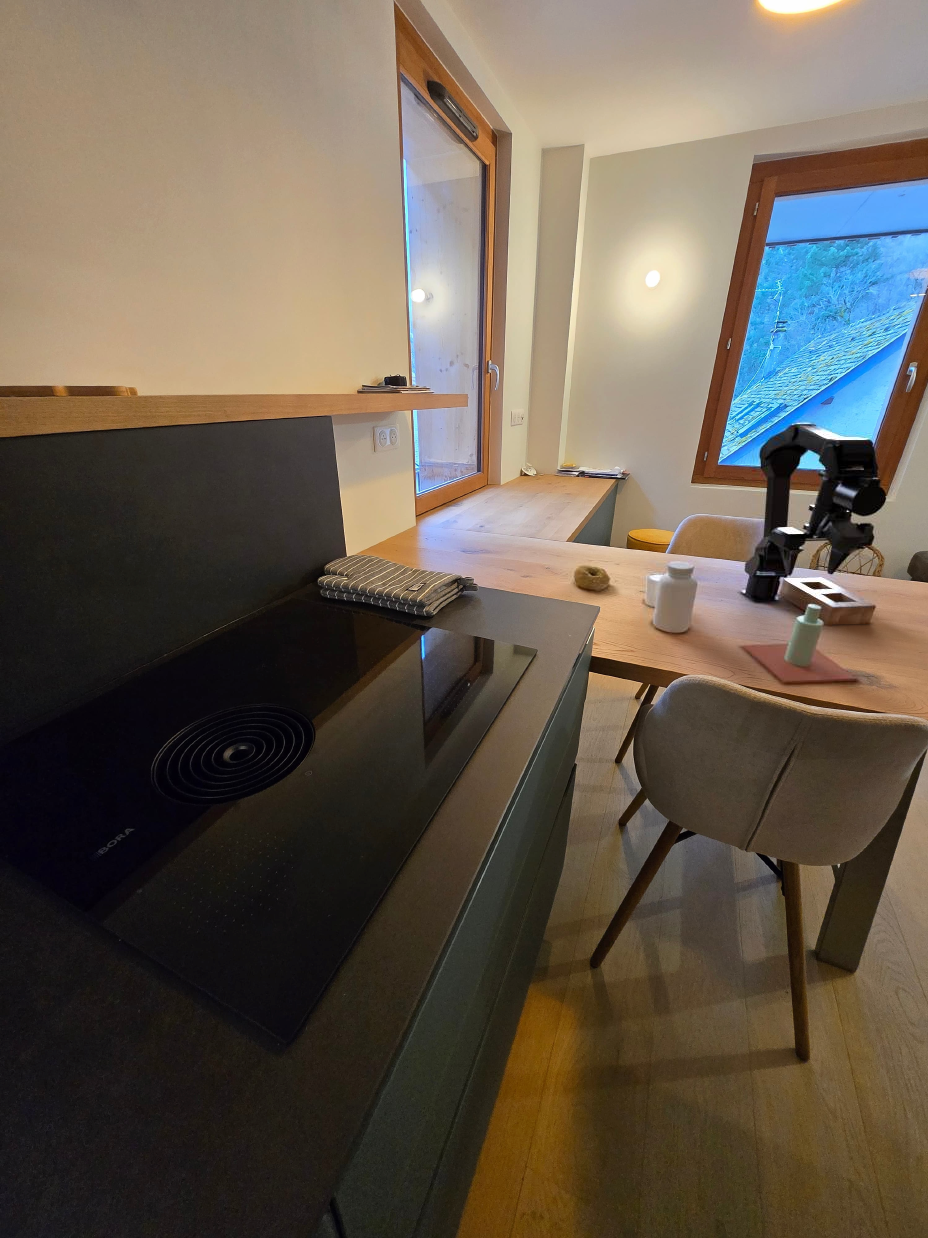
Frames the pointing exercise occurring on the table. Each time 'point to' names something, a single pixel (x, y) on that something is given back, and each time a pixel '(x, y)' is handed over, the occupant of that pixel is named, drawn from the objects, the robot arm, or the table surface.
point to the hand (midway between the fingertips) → (809, 574)
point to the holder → (828, 600)
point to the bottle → (804, 637)
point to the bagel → (591, 577)
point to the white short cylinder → (652, 588)
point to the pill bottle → (675, 598)
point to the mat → (789, 673)
